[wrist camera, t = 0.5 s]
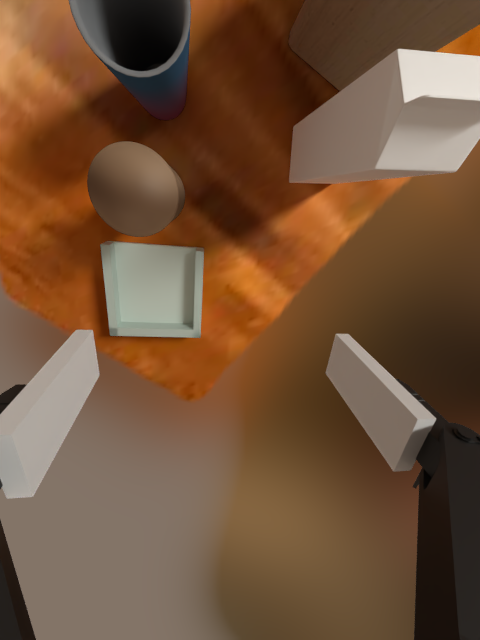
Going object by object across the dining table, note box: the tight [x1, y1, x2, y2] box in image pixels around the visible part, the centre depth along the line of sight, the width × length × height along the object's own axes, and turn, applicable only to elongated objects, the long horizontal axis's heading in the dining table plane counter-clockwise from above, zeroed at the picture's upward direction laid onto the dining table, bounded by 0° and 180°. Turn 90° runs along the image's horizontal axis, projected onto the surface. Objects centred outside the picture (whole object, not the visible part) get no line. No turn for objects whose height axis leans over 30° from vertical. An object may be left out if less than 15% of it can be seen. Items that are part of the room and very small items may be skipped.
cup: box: [69, 0, 191, 120], centre depth 23 cm, size 7×7×15 cm
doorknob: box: [87, 141, 185, 237], centre depth 28 cm, size 7×7×12 cm
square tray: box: [100, 241, 204, 338], centre depth 37 cm, size 12×12×3 cm
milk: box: [289, 49, 480, 184], centre depth 24 cm, size 6×6×22 cm
